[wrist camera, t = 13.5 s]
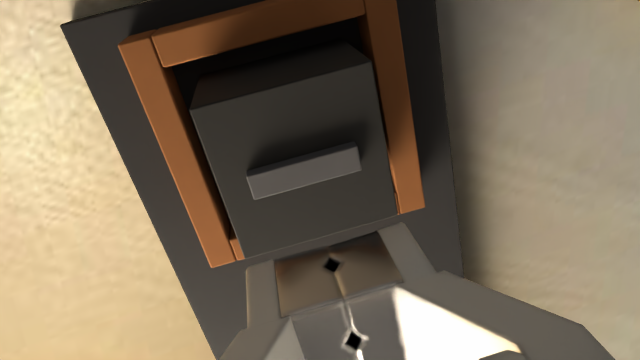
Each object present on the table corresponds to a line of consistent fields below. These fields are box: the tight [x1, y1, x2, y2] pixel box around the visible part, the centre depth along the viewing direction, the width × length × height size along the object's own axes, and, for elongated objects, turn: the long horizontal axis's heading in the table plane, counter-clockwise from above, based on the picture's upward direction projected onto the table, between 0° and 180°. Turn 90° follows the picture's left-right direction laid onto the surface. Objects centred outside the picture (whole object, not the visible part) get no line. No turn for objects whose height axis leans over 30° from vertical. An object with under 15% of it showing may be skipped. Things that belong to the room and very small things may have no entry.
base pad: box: [60, 0, 464, 360], centre depth 22 cm, size 32×12×2 cm, turn 13°
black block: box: [190, 38, 398, 259], centre depth 15 cm, size 5×5×4 cm
